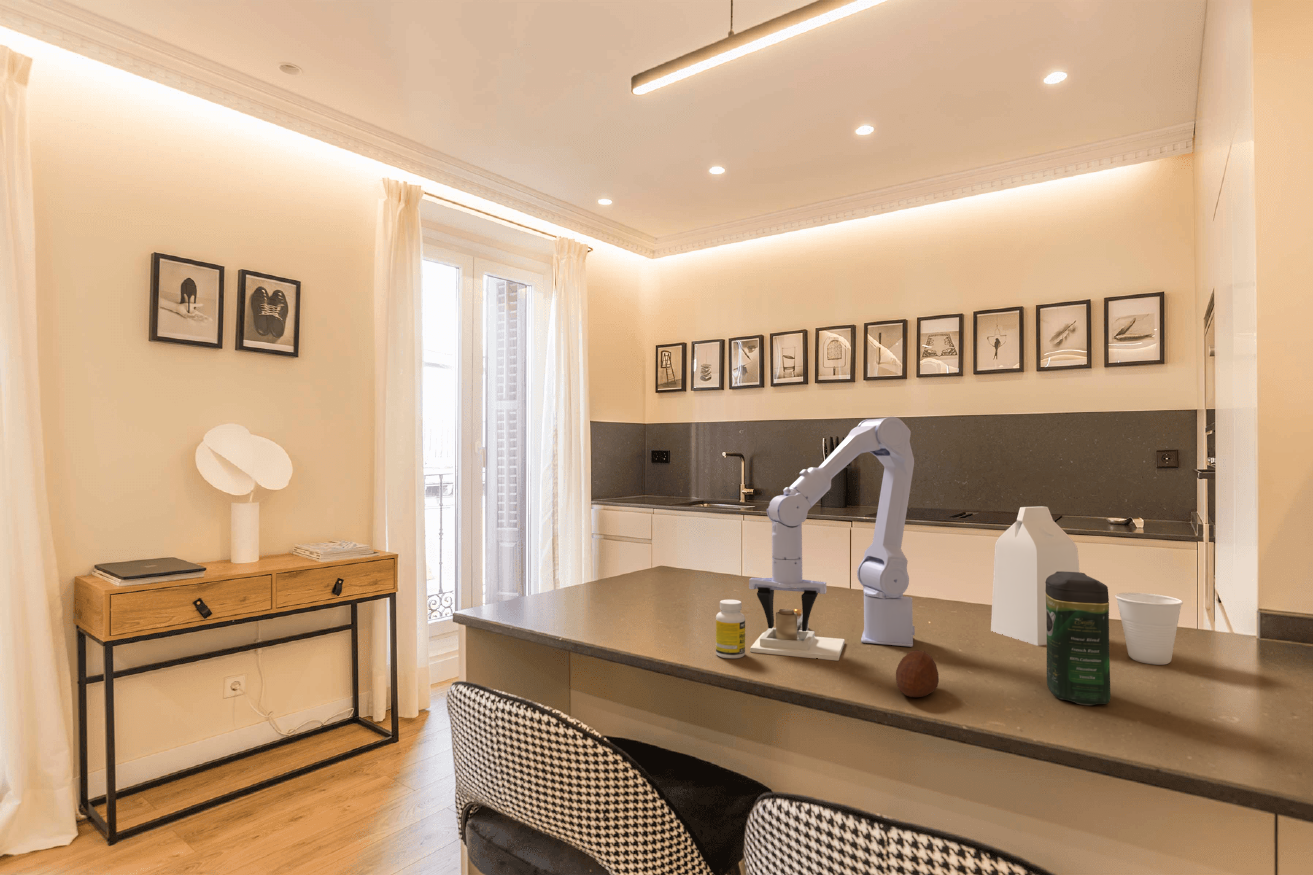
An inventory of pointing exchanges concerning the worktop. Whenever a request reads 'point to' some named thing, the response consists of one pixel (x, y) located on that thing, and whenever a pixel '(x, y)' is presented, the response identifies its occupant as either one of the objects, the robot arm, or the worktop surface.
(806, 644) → the dock
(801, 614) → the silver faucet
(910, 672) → the potato
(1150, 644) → the cup
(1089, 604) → the coffee jar
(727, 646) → the supplement bottle
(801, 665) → the worktop surface
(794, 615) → the beige lidded canister
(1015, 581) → the milk
